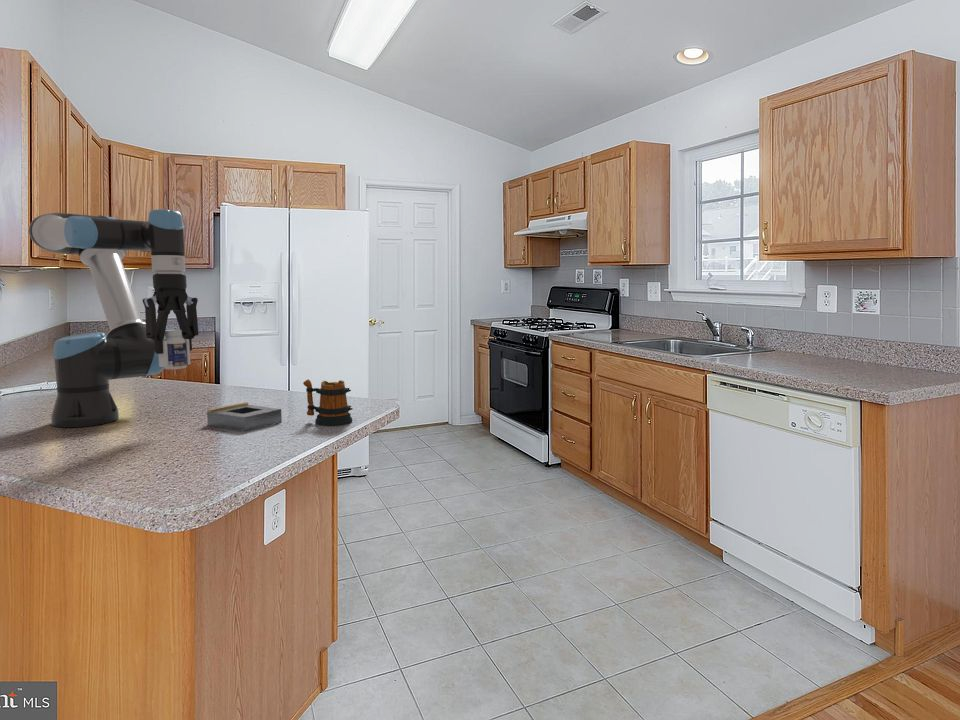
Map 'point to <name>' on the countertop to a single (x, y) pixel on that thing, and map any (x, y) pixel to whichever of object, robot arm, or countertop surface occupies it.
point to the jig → (243, 416)
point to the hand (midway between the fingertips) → (175, 365)
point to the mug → (329, 403)
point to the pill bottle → (175, 349)
